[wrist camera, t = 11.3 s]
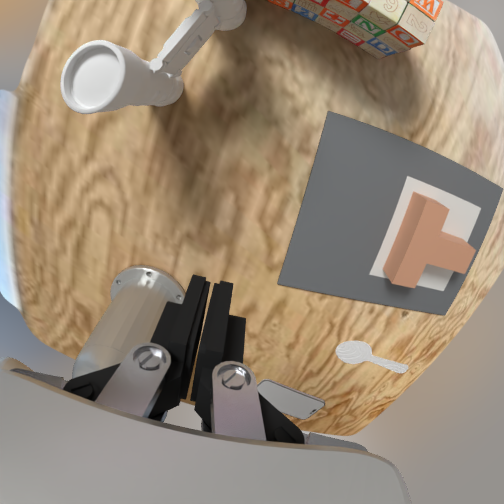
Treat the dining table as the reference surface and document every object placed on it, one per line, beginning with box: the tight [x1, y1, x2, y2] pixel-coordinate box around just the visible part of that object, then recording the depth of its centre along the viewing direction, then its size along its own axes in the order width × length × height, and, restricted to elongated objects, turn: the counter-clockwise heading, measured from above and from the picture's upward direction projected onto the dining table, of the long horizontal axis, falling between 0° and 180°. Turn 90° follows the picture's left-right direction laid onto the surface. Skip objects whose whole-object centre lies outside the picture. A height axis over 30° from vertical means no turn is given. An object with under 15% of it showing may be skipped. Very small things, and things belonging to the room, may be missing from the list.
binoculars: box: [61, 0, 247, 114], centre depth 22 cm, size 17×5×18 cm, turn 141°
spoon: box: [336, 341, 408, 373], centre depth 50 cm, size 5×18×1 cm, turn 63°
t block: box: [383, 191, 476, 288], centre depth 38 cm, size 12×12×4 cm
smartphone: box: [257, 379, 325, 419], centre depth 56 cm, size 7×1×15 cm
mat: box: [277, 111, 503, 315], centre depth 39 cm, size 24×31×1 cm
